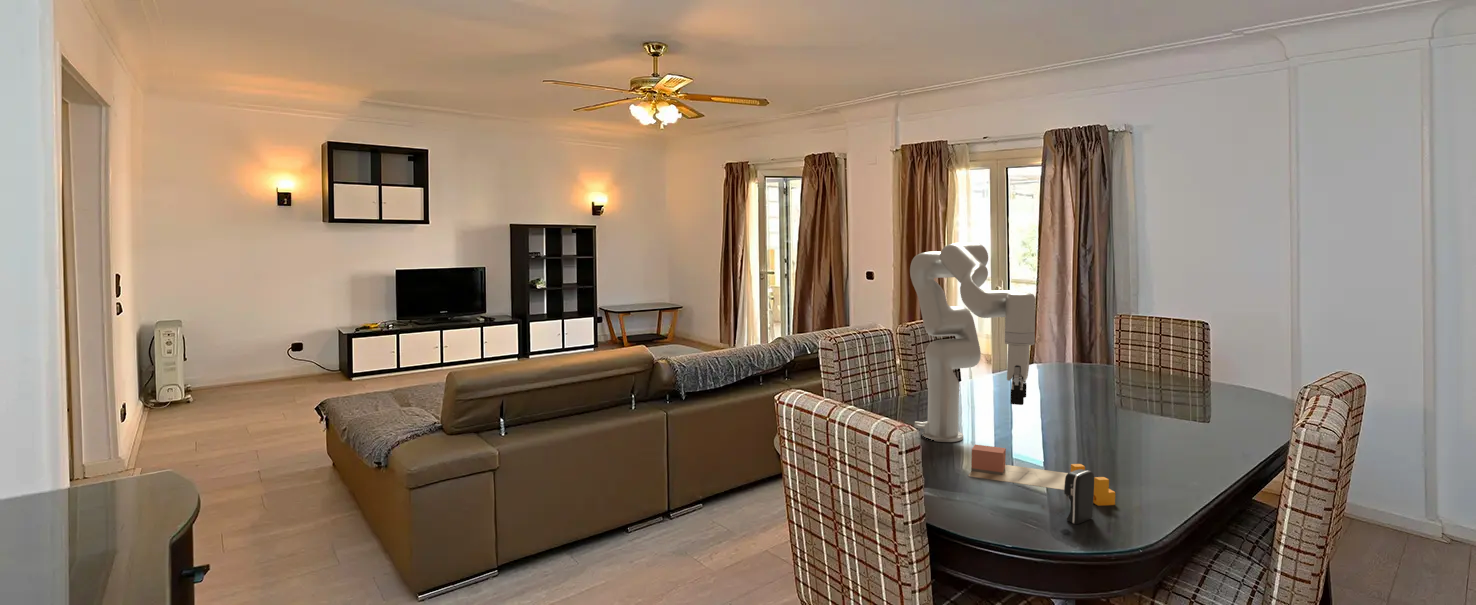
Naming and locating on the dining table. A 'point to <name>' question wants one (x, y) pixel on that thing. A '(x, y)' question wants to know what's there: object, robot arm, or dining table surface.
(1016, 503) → the dining table surface
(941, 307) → the robot arm
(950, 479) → the dining table surface
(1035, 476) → the board
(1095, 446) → the dining table surface
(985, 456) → the block
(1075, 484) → the battery charger
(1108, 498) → the pipe clamp
